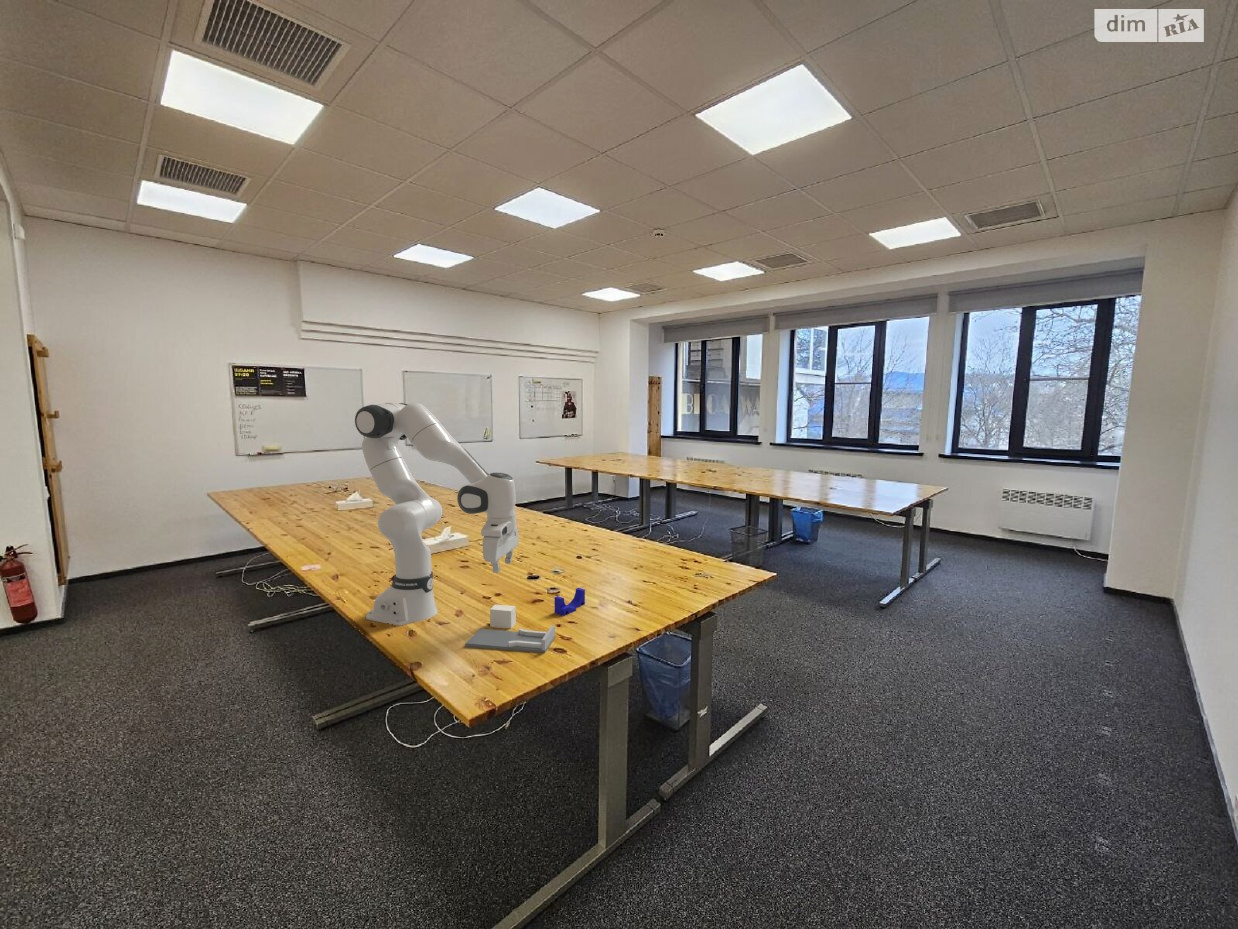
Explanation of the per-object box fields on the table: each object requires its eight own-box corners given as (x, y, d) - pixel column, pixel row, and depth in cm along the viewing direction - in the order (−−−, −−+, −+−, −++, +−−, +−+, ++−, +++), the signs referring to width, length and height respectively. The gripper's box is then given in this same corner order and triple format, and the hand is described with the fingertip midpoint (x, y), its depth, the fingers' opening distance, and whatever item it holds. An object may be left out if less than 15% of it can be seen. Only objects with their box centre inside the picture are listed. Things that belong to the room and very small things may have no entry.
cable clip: (564, 617, 167) (564, 600, 167) (554, 614, 170) (554, 597, 169) (588, 607, 177) (588, 590, 176) (578, 603, 179) (578, 587, 179)
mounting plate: (465, 647, 145) (465, 633, 145) (480, 632, 155) (480, 619, 155) (545, 654, 141) (544, 640, 141) (555, 638, 151) (555, 625, 151)
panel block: (490, 627, 159) (490, 609, 158) (495, 622, 163) (495, 604, 162) (511, 629, 158) (511, 611, 157) (515, 624, 162) (515, 606, 161)
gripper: (505, 517, 167) (505, 557, 169) (478, 531, 147) (479, 577, 149) (523, 518, 166) (523, 558, 168) (498, 532, 146) (499, 578, 148)
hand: (502, 567), depth 158 cm, fingers open, 8 cm apart
